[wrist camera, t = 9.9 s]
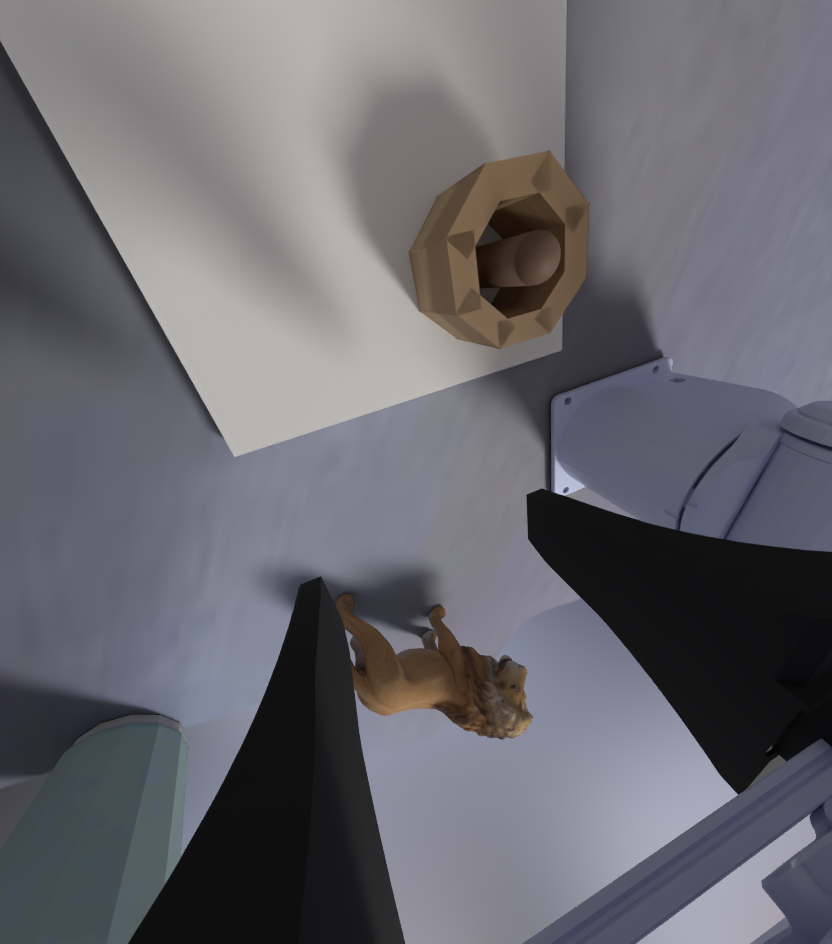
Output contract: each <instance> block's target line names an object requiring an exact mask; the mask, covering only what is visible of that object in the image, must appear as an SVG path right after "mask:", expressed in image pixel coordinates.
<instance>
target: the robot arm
mask: <svg viewBox="0 0 832 944" xmlns="http://www.w3.org/2000/svg"><path fill="white" fill-rule="evenodd" d="M672 365H673V360H672V359H671V358H669V357H663V358H660V359H658V360H655V361H652V362H649V363H646V364H643V365H641V366H638V367H635V368H632V369H629V370H626V371H624V372H621V373H618V374H615V375H612V376H609V377H607V378H604V379H601V380H598V381H595V382H592V383H590V384H587V385H584V386H581V387H578V388H575V389H572V390H570V391H567V392H564V393H561V394H558V395H556V396H555V397H554V398H553V400H552V402H551V491H548V490H545V489H540V490H537V491H535V492H532V493H530V494H527V520H528V539H529V541H530V542H531V543H532V545H533V546H534V547H535V549H536V550H537V551H538V553H539V554H540V555H541V556H542V558H543V559H544V560H545V562H546V563H547V564H548V565H549V566H550V567H551V568H552V569H553V570H554V571H555V572H556V573H557V574H558V575H559V576H560V577H561V578H562V579H563V580H564V581H565V582H566V583H567V584H568V585H569V586H570V587H571V588H572V589H573V590H574V591H575V592H576V593H577V594H578V595H579V596H580V597H581V598H582V599H583V600H584V601H585V602H586V603H587V604H588V605H589V606H590V607H591V608H592V609H593V610H594V611H595V612H596V613H597V614H598V615H599V616H600V617H601V618H602V619H603V621H604V622H605V623H606V624H607V625H608V626H609V627H610V628H611V630H612V631H613V632H614V633H615V635H616V636H617V637H618V638H619V639H620V640H621V642H622V643H623V644H624V645H625V647H626V648H627V649H628V650H629V651H630V653H631V654H632V655H633V656H634V658H635V659H636V660H637V661H638V663H639V664H640V665H641V666H642V668H643V669H644V670H645V672H646V673H647V674H648V675H649V677H650V678H651V679H652V680H653V682H654V683H655V684H656V686H657V687H658V688H659V690H660V691H661V692H662V694H663V695H664V696H665V698H666V699H667V700H668V702H669V703H670V704H671V706H672V707H673V708H674V710H675V711H676V712H677V714H678V715H679V716H680V718H681V719H682V721H683V722H684V723H685V725H686V726H687V728H688V729H689V730H690V732H691V733H692V735H693V736H694V738H695V739H696V741H697V742H698V743H699V745H700V746H701V748H702V749H703V750H704V752H705V753H706V755H707V756H708V758H709V759H710V760H711V762H712V764H713V765H714V767H715V768H716V770H717V771H718V773H719V774H720V775H721V776H722V777H723V779H724V780H725V781H726V782H727V783H728V784H729V785H730V786H731V787H732V788H733V790H734V791H735V792H736V793H737V794H738V796H736V797H735V798H733V799H732V800H730V801H729V802H728V803H726V804H725V805H723V806H722V807H720V808H719V809H717V810H716V811H714V812H713V813H712V814H710V815H709V816H707V817H706V818H705V819H703V820H702V821H700V822H699V823H698V824H696V825H694V826H693V827H691V828H690V829H688V830H687V831H685V832H684V833H683V834H681V835H680V836H678V837H677V838H675V839H674V840H672V841H671V842H670V843H668V844H667V845H665V846H664V847H662V848H661V849H659V850H658V851H657V852H655V853H654V854H652V855H651V856H649V857H648V858H646V859H645V860H643V861H642V862H641V863H639V864H638V865H636V866H635V867H633V868H632V869H630V870H629V871H628V872H626V873H625V874H623V875H622V876H620V877H619V878H617V879H616V880H614V881H613V882H612V883H610V884H609V885H607V886H606V887H604V888H603V889H601V890H600V891H598V892H597V893H596V894H594V895H593V896H591V897H590V898H589V899H587V900H585V901H584V902H583V903H581V904H580V905H578V906H577V907H575V908H574V909H572V910H571V911H570V912H568V913H567V914H565V915H564V916H562V917H561V918H559V919H558V920H557V921H555V922H554V923H552V924H551V925H549V926H548V927H546V928H545V929H543V930H542V931H540V932H539V933H538V934H536V935H535V936H533V937H532V938H530V939H529V940H527V941H526V942H525V943H523V944H636V943H637V942H639V941H640V940H641V939H643V938H644V937H645V936H647V935H648V934H649V933H651V932H652V931H654V930H655V929H656V928H658V927H659V926H660V925H662V924H663V923H664V922H666V921H667V920H668V919H670V918H671V917H672V916H673V915H675V914H676V913H678V912H679V911H680V910H682V909H683V908H684V907H686V906H687V905H688V904H690V903H691V902H692V901H694V900H695V899H696V898H698V897H699V896H701V895H702V894H703V893H705V892H706V891H707V890H709V889H710V888H711V887H713V886H714V885H715V884H717V883H718V882H719V881H721V880H722V879H723V878H725V877H726V876H727V875H729V874H730V873H731V872H733V871H734V870H735V869H737V868H738V867H740V866H741V865H742V864H743V863H745V862H746V861H747V860H749V859H750V858H752V857H753V856H754V855H756V854H757V853H758V852H760V851H761V850H762V849H764V848H765V847H766V846H768V845H769V844H770V843H772V842H773V841H774V840H776V839H777V838H778V837H780V836H781V835H782V834H784V833H785V832H787V831H788V830H789V829H791V828H792V827H793V826H795V825H796V824H797V823H798V822H800V821H801V820H803V819H804V818H805V817H807V816H808V815H809V814H811V815H810V821H811V824H812V826H813V828H814V830H815V833H816V839H815V840H814V841H813V842H812V843H810V844H809V845H808V846H806V847H805V848H803V849H802V850H801V851H799V852H798V853H797V854H795V855H794V856H793V857H791V858H790V859H788V860H787V861H786V862H785V863H783V864H782V865H781V866H779V867H778V868H777V869H776V870H775V871H773V872H772V873H771V874H769V875H768V876H767V877H766V878H765V879H763V880H762V881H761V882H762V887H763V889H764V890H765V891H766V893H767V894H768V895H769V896H770V898H771V899H772V900H773V901H774V903H775V904H776V905H777V906H778V907H779V909H780V910H781V911H782V912H783V914H784V915H785V916H786V917H785V918H784V919H782V920H781V921H780V922H778V923H777V924H776V925H775V926H773V927H772V928H770V929H769V930H768V931H767V932H765V933H764V934H763V935H761V936H760V937H759V938H757V939H756V940H755V941H753V942H752V943H751V944H832V401H816V402H813V403H810V404H808V405H805V406H802V407H800V408H797V407H796V406H795V405H794V404H793V403H791V402H790V401H789V400H787V399H785V398H784V397H782V396H780V395H778V394H776V393H773V392H770V391H767V390H763V389H758V388H753V387H747V386H742V385H737V384H731V383H726V382H721V381H716V380H710V379H705V378H700V377H694V376H689V375H684V374H679V373H673V372H671V370H672ZM566 398H567V401H566V402H565V400H566ZM584 487H587V488H589V489H591V490H592V491H594V492H595V493H597V494H599V495H600V496H602V497H603V498H605V499H607V500H608V501H610V502H611V503H613V504H615V505H616V506H618V507H619V508H621V509H623V510H624V511H626V512H627V513H629V514H631V515H632V516H634V517H635V518H637V519H639V520H636V519H633V518H629V517H626V516H623V515H620V514H616V513H613V512H610V511H607V510H604V509H601V508H598V507H595V506H592V505H589V504H586V503H583V502H580V501H578V500H575V499H572V498H569V497H566V496H565V495H567V494H570V493H572V492H575V491H577V490H579V489H582V488H584ZM564 488H565V489H564ZM128 944H405V941H404V937H403V932H402V928H401V924H400V920H399V916H398V911H397V908H396V903H395V899H394V895H393V891H392V887H391V882H390V877H389V873H388V869H387V864H386V860H385V855H384V851H383V846H382V842H381V838H380V833H379V829H378V824H377V819H376V815H375V811H374V805H373V801H372V796H371V792H370V787H369V782H368V777H367V772H366V767H365V762H364V757H363V752H362V747H361V741H360V734H359V727H358V718H357V710H356V701H355V693H354V684H353V676H352V667H351V659H350V651H349V646H348V642H347V638H346V633H345V629H344V625H343V621H342V618H341V616H340V614H339V612H338V610H337V608H336V606H335V604H334V602H333V600H332V598H331V596H330V594H329V592H328V590H327V588H326V585H325V583H324V581H323V579H322V577H318V578H316V579H313V580H311V581H308V582H306V583H303V584H301V586H300V587H299V590H298V594H297V598H296V602H295V606H294V610H293V613H292V617H291V620H290V623H289V627H288V630H287V633H286V636H285V639H284V642H283V645H282V648H281V651H280V654H279V657H278V660H277V663H276V666H275V668H274V671H273V673H272V676H271V679H270V681H269V684H268V686H267V689H266V692H265V694H264V697H263V699H262V701H261V704H260V706H259V708H258V711H257V713H256V715H255V718H254V720H253V722H252V724H251V726H250V729H249V731H248V733H247V735H246V738H245V739H244V742H243V744H242V746H241V748H240V750H239V752H238V754H237V756H236V758H235V760H234V762H233V764H232V766H231V768H230V770H229V772H228V774H227V776H226V778H225V780H224V782H223V783H222V785H221V787H220V789H219V791H218V793H217V795H216V796H215V799H214V800H213V802H212V804H211V806H210V807H209V809H208V811H207V813H206V815H205V816H204V818H203V820H202V821H201V823H200V825H199V827H198V828H197V830H196V832H195V834H194V835H193V837H192V839H191V841H190V842H189V844H188V846H187V848H186V849H185V851H184V853H183V855H182V857H181V858H180V860H179V862H178V863H177V865H176V867H175V868H174V870H173V872H172V873H171V875H170V877H169V878H168V880H167V882H166V883H165V885H164V887H163V888H162V890H161V892H160V893H159V895H158V896H157V898H156V899H155V901H154V903H153V904H152V906H151V907H150V909H149V911H148V912H147V914H146V915H145V917H144V919H143V920H142V922H141V923H140V925H139V926H138V928H137V930H136V931H135V933H134V934H133V936H132V938H131V939H130V941H129V942H128Z"/></svg>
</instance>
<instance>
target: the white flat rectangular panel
mask: <svg viewBox="0 0 832 944" xmlns="http://www.w3.org/2000/svg"><path fill="white" fill-rule="evenodd" d="M566 11H567V0H0V41H1V43H2V45H3V47H4V48H5V50H6V52H7V54H8V56H9V57H10V59H11V61H12V63H13V64H14V66H15V68H16V70H17V71H18V73H19V75H20V77H21V79H22V80H23V82H24V84H25V86H26V87H27V89H28V91H29V93H30V95H31V96H32V98H33V100H34V102H35V103H36V105H37V107H38V109H39V111H40V112H41V114H42V116H43V118H44V119H45V121H46V123H47V125H48V127H49V128H50V130H51V132H52V134H53V135H54V137H55V139H56V141H57V143H58V144H59V146H60V148H61V150H62V151H63V153H64V155H65V157H66V158H67V160H68V162H69V164H70V166H71V167H72V169H73V171H74V173H75V174H76V176H77V178H78V180H79V182H80V183H81V185H82V187H83V189H84V190H85V192H86V194H87V196H88V198H89V199H90V201H91V203H92V205H93V206H94V208H95V210H96V212H97V214H98V215H99V217H100V219H101V221H102V222H103V224H104V226H105V228H106V229H107V231H108V233H109V235H110V237H111V238H112V240H113V242H114V244H115V245H116V247H117V249H118V251H119V253H120V254H121V256H122V258H123V260H124V261H125V263H126V265H127V267H128V269H129V270H130V272H131V274H132V276H133V277H134V279H135V281H136V283H137V285H138V286H139V288H140V290H141V292H142V293H143V295H144V297H145V299H146V300H147V302H148V304H149V306H150V308H151V309H152V311H153V313H154V315H155V316H156V318H157V320H158V322H159V324H160V325H161V327H162V329H163V331H164V332H165V334H166V336H167V338H168V340H169V341H170V343H171V345H172V347H173V348H174V350H175V352H176V354H177V356H178V357H179V359H180V361H181V363H182V364H183V366H184V368H185V370H186V371H187V373H188V375H189V377H190V379H191V380H192V382H193V384H194V386H195V387H196V389H197V391H198V393H199V395H200V396H201V398H202V400H203V402H204V403H205V405H206V407H207V409H208V411H209V412H210V414H211V416H212V418H213V419H214V421H215V423H216V425H217V427H218V428H219V430H220V432H221V434H222V435H223V437H224V439H225V441H226V442H227V444H228V446H229V448H230V450H231V451H232V453H233V455H234V457H236V456H239V455H242V454H245V453H248V452H251V451H254V450H257V449H261V448H264V447H267V446H270V445H273V444H276V443H279V442H282V441H285V440H288V439H291V438H294V437H297V436H301V435H304V434H307V433H310V432H313V431H316V430H319V429H322V428H325V427H328V426H331V425H334V424H337V423H341V422H344V421H347V420H350V419H353V418H356V417H359V416H362V415H365V414H368V413H371V412H374V411H377V410H381V409H384V408H387V407H390V406H393V405H396V404H399V403H402V402H405V401H408V400H411V399H414V398H417V397H420V396H424V395H427V394H430V393H433V392H436V391H439V390H442V389H445V388H448V387H451V386H454V385H457V384H460V383H464V382H467V381H470V380H473V379H476V378H479V377H482V376H485V375H488V374H491V373H494V372H497V371H500V370H504V369H507V368H510V367H513V366H516V365H519V364H522V363H525V362H528V361H531V360H534V359H537V358H540V357H544V356H547V355H550V354H553V353H556V352H559V351H562V316H563V314H562V316H561V317H560V319H559V321H558V322H557V324H556V325H555V327H554V328H553V330H552V331H551V333H550V334H546V335H543V336H540V337H536V338H533V339H530V340H527V341H523V342H520V343H517V344H514V345H511V346H507V347H504V348H501V349H497V348H493V347H489V346H484V345H480V344H476V343H471V342H467V341H463V340H459V339H456V338H455V337H454V336H453V335H451V334H450V333H449V332H447V331H446V330H444V329H443V328H442V327H440V326H439V325H438V324H436V323H435V322H434V321H432V320H431V319H429V318H428V317H427V316H425V315H424V314H423V313H421V312H420V311H419V305H418V300H417V294H416V289H415V284H414V278H413V273H412V268H411V262H410V257H409V254H408V253H409V252H408V251H410V249H411V247H412V245H413V243H414V241H415V239H416V237H417V235H418V233H419V231H420V229H421V227H422V225H423V223H424V221H425V219H426V217H427V215H428V213H429V211H430V210H431V208H432V206H433V204H434V202H435V200H436V197H437V196H438V195H439V194H441V193H442V192H444V191H445V190H447V189H448V188H449V187H451V186H452V185H454V184H455V183H457V182H458V181H460V180H461V179H462V178H464V177H465V176H467V175H468V174H470V173H471V172H473V171H474V170H476V169H477V168H478V167H480V166H481V165H483V164H484V163H486V162H487V163H490V162H495V161H500V160H505V159H510V158H515V157H520V156H525V155H531V154H536V153H541V152H546V151H548V150H550V151H551V153H552V154H553V156H554V157H555V159H556V160H557V161H558V163H559V164H560V165H561V167H562V168H563V169H564V164H565V88H566ZM499 240H502V238H501V237H500V236H499V235H498V234H497V233H496V232H495V231H494V230H493V229H492V228H491V227H490V226H489V225H488V224H487V226H486V228H485V229H484V231H483V233H482V235H481V237H480V238H479V240H478V242H477V244H476V246H475V247H477V246H481V245H484V244H488V243H491V242H495V241H499ZM500 288H501V287H498V288H481V289H479V290H480V295H481V296H482V297H483V298H484V299H485V300H486V301H487V302H489V303H490V304H491V303H492V301H493V300H494V298H495V296H496V294H497V293H498V291H499V289H500Z"/></svg>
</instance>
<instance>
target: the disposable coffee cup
mask: <svg viewBox="0 0 832 944" xmlns="http://www.w3.org/2000/svg"><path fill="white" fill-rule="evenodd" d="M187 761H188V745H187V743H186V735H185V733H184V731H183V729H182V727H181V724H180V723H179V722H176V721H174V720H171V719H169V718H167V717H164V716H162V715H129V716H125V717H121V718H118V719H114V720H111V721H107V722H104V723H100V724H99V725H97V726H96V727H94V728H93V729H91V730H90V731H88V732H87V733H85V734H84V735H82V736H81V737H79V738H78V739H77V740H76V742H75V743H74V745H73V746H72V747H71V748H70V749H68V750H67V751H65V752H64V753H63V755H62V756H61V758H60V759H59V761H58V762H57V764H56V766H55V767H54V769H53V770H52V772H51V773H50V775H49V776H48V778H47V779H46V781H45V782H44V784H43V785H42V787H41V788H40V790H39V791H38V793H37V794H36V796H35V797H34V799H33V800H32V802H31V803H30V805H29V806H28V808H27V809H26V811H25V812H24V814H23V815H22V817H21V819H20V820H19V821H18V823H17V824H16V826H15V827H14V829H13V830H12V832H11V833H10V835H9V836H8V838H7V839H6V841H5V842H4V844H3V845H2V847H1V848H0V944H128V942H129V941H130V939H131V938H132V936H133V934H134V933H135V931H136V930H137V928H138V926H139V925H140V923H141V922H142V920H143V919H144V917H145V915H146V914H147V912H148V911H149V909H150V907H151V906H152V904H153V903H154V901H155V899H156V898H157V896H158V895H159V893H160V892H161V890H162V888H163V887H164V885H165V883H166V882H167V880H168V878H169V877H170V875H171V873H172V872H173V870H174V868H175V867H176V865H177V863H178V862H179V860H180V858H181V845H182V831H183V830H182V829H183V817H184V802H185V788H186V775H187Z"/></svg>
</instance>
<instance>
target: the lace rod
mask: <svg viewBox="0 0 832 944" xmlns="http://www.w3.org/2000/svg"><path fill="white" fill-rule="evenodd" d="M475 250H476V260H477V270H478V280H479V289H481V288H498V287H516V286H533V285H538V284H541V283H543V282H545V281H546V280H548V279H549V278H550V277H551V276H552V275H553V273H554V272H555V270H556V269H557V267H558V264H559V261H560V256H561V249H560V244H559V242H558V240H557V238H556V237H555V236H554V235H553V234H552V233H550V232H548V231H545V230H535V231H531V232H527V233H524V234H520V235H517V236H513V237H509V238H506V239H502V240H499V241H495V242H491V243H488V244H484V245H481V246H477V247H475Z"/></svg>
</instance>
